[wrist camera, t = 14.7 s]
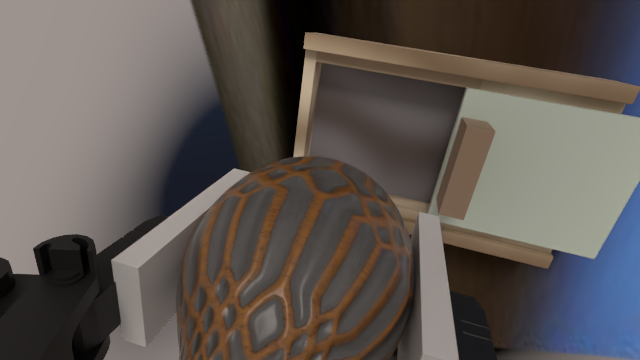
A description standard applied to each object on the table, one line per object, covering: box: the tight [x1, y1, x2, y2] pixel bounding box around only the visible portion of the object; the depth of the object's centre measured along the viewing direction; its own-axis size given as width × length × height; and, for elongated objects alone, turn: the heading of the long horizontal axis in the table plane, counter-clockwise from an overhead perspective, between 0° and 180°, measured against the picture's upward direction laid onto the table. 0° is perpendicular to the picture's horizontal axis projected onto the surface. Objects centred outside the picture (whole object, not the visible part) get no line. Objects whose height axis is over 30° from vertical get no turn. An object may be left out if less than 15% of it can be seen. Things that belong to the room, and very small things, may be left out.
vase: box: [176, 156, 414, 360], centre depth 10 cm, size 7×7×9 cm
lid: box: [427, 87, 640, 259], centre depth 22 cm, size 10×11×3 cm
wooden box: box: [293, 33, 640, 269], centre depth 25 cm, size 13×20×3 cm, turn 82°
